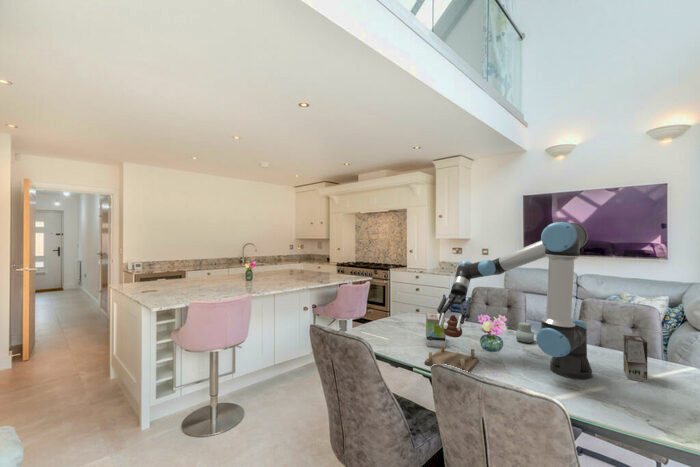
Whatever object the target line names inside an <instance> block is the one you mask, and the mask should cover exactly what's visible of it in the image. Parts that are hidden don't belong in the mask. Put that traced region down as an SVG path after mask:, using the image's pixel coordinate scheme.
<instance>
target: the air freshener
mask: <svg viewBox="0 0 700 467" xmlns="http://www.w3.org/2000/svg"><path fill="white" fill-rule="evenodd" d="M515 333H516V334H515V338H516V340H517V341H519V342H521V343H523V344H524V343H525V344H531V343H533V342H534V341H535V340H534V338H535V337H534V336H535V335H534V334H535V333H534V332H533V331H532V325H531V323H529V322H523V321H521V322H519V323H518V329H517V330H516V332H515Z"/></svg>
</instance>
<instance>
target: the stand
mask: <svg viewBox="0 0 700 467" xmlns="http://www.w3.org/2000/svg"><path fill="white" fill-rule="evenodd" d="M475 352H476V351H475V348H470V355H467V354H463V353H458V352H454V351H449V350H445V347H444V343H441V347H440V349H438V350H437V351H435V352H434V353H433V352H432V351H428V358H427V359H425V360H424V365H426V366H429V367H433V366H432V365H433V364H447V365H451V366H454V367H457V368H460V369H462V370H465V371H468V372H469V373H470V372H471V371H472V370H473V369H474V367H475V366H476V365H477V363H478V362H479V358H480V357H477V356H475V354H476V353H475Z"/></svg>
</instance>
